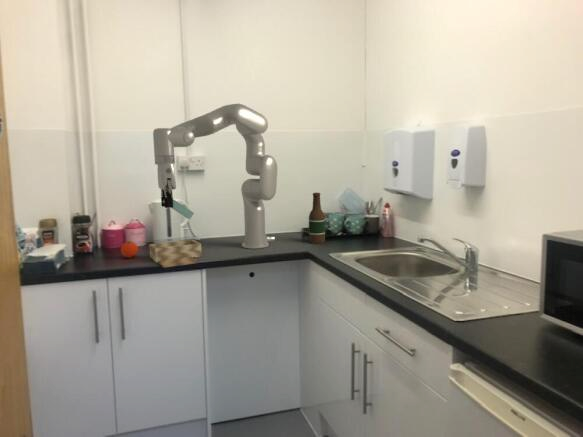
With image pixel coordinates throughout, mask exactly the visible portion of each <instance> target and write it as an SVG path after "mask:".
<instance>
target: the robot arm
mask: <svg viewBox="0 0 583 437" xmlns="http://www.w3.org/2000/svg"><path fill="white" fill-rule="evenodd" d="M232 125H233V126H234V125H235V128H236V130H237V132H238V133H239V134H240V135H241V136H242V138H243V139H244V142H245V145H246V147H245V150H246V151H245V171H246V173H247V174H248V175H250V176H257V177H259V178H248V179H246V180H244V181H243V183H242V185H241V188H240V192H241V196H242V201H243V211H244V213H243V214H244V215H243V217H244V242H243V243H242V244H241V247H242V248H244V249H254V250H255V249H256V250H257V249H264V248H267V247H269V245H270V243H269V242H271V241H273V242H275V240H276V238H275V235H274V236H267V235H266V212H265V211H266V209H265V204H264V201H271V200H272V199H274V197H275V195H276V192H277V184H278V163H277V161H276V159H275V158H274V156H272V155H270V154H265V153H266V144H265V139H264V137H263V136H262V134H264V133H265V132H266V131H267V129H268V126H269V123H268V119H267V118H266V116H264V115H263V114H262V113H260V112H258V111H256V110H254V109H252V108H251V107H249V106H247V105H245V104H243V103H232V104H225V105H222V106H220V107H219V108H216V109H213V110H212V111H210V112H207V113H205V114H203V115H200V116H197V117H195V118H192V119H190V120H187V121H184V122H182V123H179V124H177V125H175V126H172V127H170V128H169V127H167V128H166V127H160V128H159V127H158V128H154V129H153V132H152V138H153V139H152V141H153V154H154V165H157V169H156V170H157V185H158V188H159V189H160V200H161V202H160V203H161V207H162V208H163V207H164V208H165V209H170V208H171V209H172V207H173V198H174V197H173V190H176V189H177V184H176V173H175V172H176V171H175V167H174V165H175V163H176V160H175V148H187V147H190V146H192V144H193V143H194V142H195V139H197V138H202V137H207V136H211V135H214V134H215V133H216V134H217V132H219V131H222V130H223V129H225V128H228V127H229V126H232ZM163 200H164V203H163Z"/></svg>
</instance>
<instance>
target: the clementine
mask: <svg viewBox="0 0 583 437" xmlns="http://www.w3.org/2000/svg"><path fill="white" fill-rule="evenodd" d="M138 250H139V248H138V245H137V244H136V243H135V242H133V241H126V242H124V243H123V244H122V245H121V247H120V252H121V255H123V257H125V258H128V259H133V257H135V256H136V255H137V253H138V252H139V251H138Z"/></svg>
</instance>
